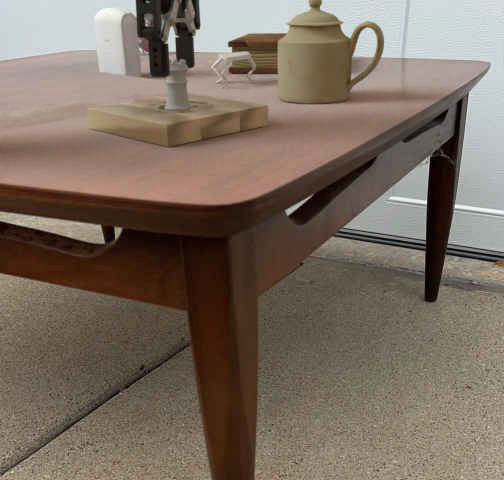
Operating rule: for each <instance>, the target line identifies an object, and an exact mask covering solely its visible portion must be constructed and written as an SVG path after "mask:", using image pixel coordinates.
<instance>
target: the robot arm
mask: <svg viewBox="0 0 504 480" xmlns="http://www.w3.org/2000/svg"><path fill="white" fill-rule="evenodd" d="M200 8H201V7H200V0H135V12H136V14H135V15H136V16H135V17H136V18H137V34H138V37H139V38H144V39H145V42H148V49H149V53H148V61H149V73H150V76H151V77H153V78H167V77H168V76H169V75H170V65H169V60H170V51H169V50H170V48H169V43H168V42H169V41H168V40H169V37H170V36H169V35H170V30H171V28H172V29H173V32H174V35H175V36H176V37H174V42H175V59H178V62H179V61H180V59H183V60H185V61H186V65H187V66H188V67H189V69H193V68H194V67H195V63H196V62H195V39H194V37H196V35H197V31H200V29H201V26H202V25H201V12H200V11H201V10H200ZM145 20H146V22H147V24H146V26H145ZM189 69H188V70H189Z"/></svg>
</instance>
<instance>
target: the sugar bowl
mask: <svg viewBox="0 0 504 480" xmlns="http://www.w3.org/2000/svg"><path fill="white" fill-rule="evenodd" d="M322 4H323V1H322V0H308V6H309V7H310V9H309V10H307V11H304V12H301V13H298V14H296V15H294V17H292V19H291V20H290V21H288V22H286V23H285V25H286V26H288V30H287V32H286V33H287V34H286V35H285V37H283V38H282V39H280V40H278V73H277V86H278V99H279V100H281V101H283V102H286V103H293V104H302V105H303V104H305V105H306V104H307V105H308V104H311V105H315V104H316V105H317V104H319V105H320V104H332V103H334V104H335V103H340V102H344V101H347V100H349V99H350V96H351V91H352V89H353V87H355V86H356V85H357V84H359V83H360V82H362V81H364V79H366V78H367V77H368V76H369V75H370V74H371V73H372V72H373V71H374V70H375V69H376V68H377V66H378V64H379V63H380V61H381V58H382V56H383V53H384V49H385V36H384V32H383V30H382V28H381V27H380V26H379V25H378V24H377V23H376V22H374V21H370V20H369V21H368V20H366V21H363V22H361V23H359V24H358V25H356V27H355V28H354V30H353V31H352V33H351V36H350V37H349V36H347V35H346V34H345V33H344V32H343V30H342V26H341V25H343V24H344V21H342V20H340V19H339V18H338V17H337V16H336V15H334V14H333V13H330V12H327V11H324V10H322V9H321V7H322ZM367 28H369V29H371V30H373V32H374V34H375V36H376V48H375V52H374V55H373V58H372V60H371V61H370V64H368V66H366V68H365V69H364V70H363V71H362V72H361V73H359V74H358V75H357V76H355V77H354V78H352V67H353V66H352V65H353V57H354V55H355V51H356V48H357V43H358V40H359V38H360V35H361V33H362V31H363V30H365V29H367Z"/></svg>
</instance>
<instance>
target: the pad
mask: <svg viewBox="0 0 504 480" xmlns="http://www.w3.org/2000/svg"><path fill="white" fill-rule="evenodd" d="M187 94H188V99H189V102H190V105H191V106H192V107H191V108H192V109H188V110H165V108H164V107H165V106H166V102H167V95H163V96H157V97H151V98H144V99H138V100H133V101H126V102H125V101H124V102H121V103H114V104H109V105H108V104H107V105H101V106H94V107H89V108H87V115H88V122H89V129H90V130H94V131H99V132H103V133H107V134H111V135H117V136H120V137H125V138H129V139H132V140H136V141H140V142H146V143H150V144H153V145H157V146H163V147H167V148H171V147H176V146H180V145H184V144H189V143H193V142H194V143H195V142H199V141H202V140H206V139H212V138H217V137H221V136H226V135H229V134H234V133H238V132H243V131H249V130H253V129H258V128H262V127H266V126H269V105H268V104H263V103H256V102H250V101H243V100H236V99H229V98H224V97H216V96H212V95H211V96H210V95H203V94H196V93H192V92H191V93H189V92H187Z"/></svg>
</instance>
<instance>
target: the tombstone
mask: <svg viewBox="0 0 504 480" xmlns="http://www.w3.org/2000/svg"><path fill="white" fill-rule="evenodd" d="M135 17H136V16H135V15H134V14H133V13H132V12H131V11H130V10H128V9H125V8H123V7H120V6H109V7H108V6H107V7H105V8H102V9H100V10H99V11H98V12H96V14H95V15H94V17H93V31H94V33H93V34H94V41H95V50H96V57H97V66H98V72H99V73H106V74H113V75H120V76H126V77H127V76H128V77H134V78H135V77H136V78H141V77H142V63H141V62H142V61H141V51H140V47H139V39H138V34H137V20H136V18H137V17H136V18H135Z"/></svg>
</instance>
